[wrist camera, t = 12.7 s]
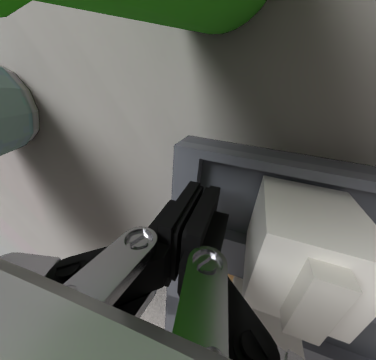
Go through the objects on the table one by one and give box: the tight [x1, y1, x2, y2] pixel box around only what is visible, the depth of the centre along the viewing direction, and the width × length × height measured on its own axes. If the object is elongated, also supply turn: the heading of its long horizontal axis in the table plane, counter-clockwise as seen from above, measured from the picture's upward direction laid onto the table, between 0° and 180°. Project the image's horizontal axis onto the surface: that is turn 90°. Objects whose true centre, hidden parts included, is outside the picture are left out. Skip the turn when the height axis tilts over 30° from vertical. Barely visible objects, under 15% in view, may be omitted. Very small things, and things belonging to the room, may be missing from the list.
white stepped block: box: [232, 276, 305, 359], centre depth 12 cm, size 4×4×6 cm
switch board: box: [165, 135, 376, 360], centre depth 13 cm, size 22×26×2 cm
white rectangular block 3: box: [242, 175, 376, 346], centre depth 8 cm, size 4×4×6 cm
